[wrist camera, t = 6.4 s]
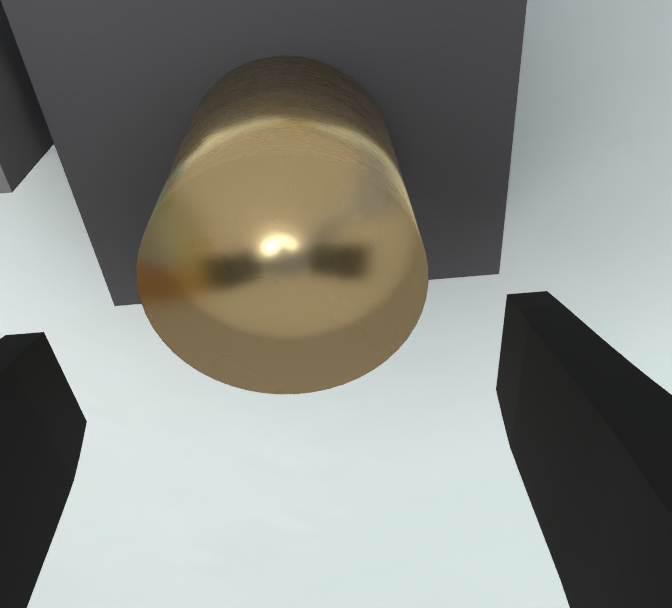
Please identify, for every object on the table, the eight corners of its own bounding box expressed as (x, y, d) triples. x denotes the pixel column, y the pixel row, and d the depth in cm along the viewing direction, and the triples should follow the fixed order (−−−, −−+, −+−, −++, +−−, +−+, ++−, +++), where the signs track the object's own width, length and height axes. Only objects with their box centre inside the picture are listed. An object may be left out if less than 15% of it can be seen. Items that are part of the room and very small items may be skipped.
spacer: (389, 243, 16) (421, 386, 12) (204, 254, 16) (169, 401, 12) (393, 49, 14) (437, 144, 9) (167, 61, 13) (101, 163, 9)
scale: (556, -574, 11) (705, -829, 7) (488, 228, 20) (531, 323, 16) (-316, -479, 11) (-682, -669, 7) (28, 267, 20) (-41, 370, 16)
